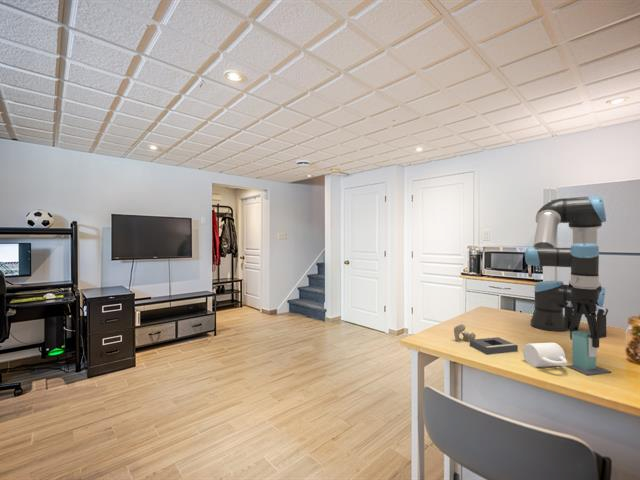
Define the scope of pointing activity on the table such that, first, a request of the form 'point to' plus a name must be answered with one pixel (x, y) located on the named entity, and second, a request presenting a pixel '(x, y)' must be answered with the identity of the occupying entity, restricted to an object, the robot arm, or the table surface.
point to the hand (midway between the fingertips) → (584, 352)
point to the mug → (544, 354)
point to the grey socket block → (493, 345)
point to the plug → (582, 351)
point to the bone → (463, 333)
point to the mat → (589, 372)
